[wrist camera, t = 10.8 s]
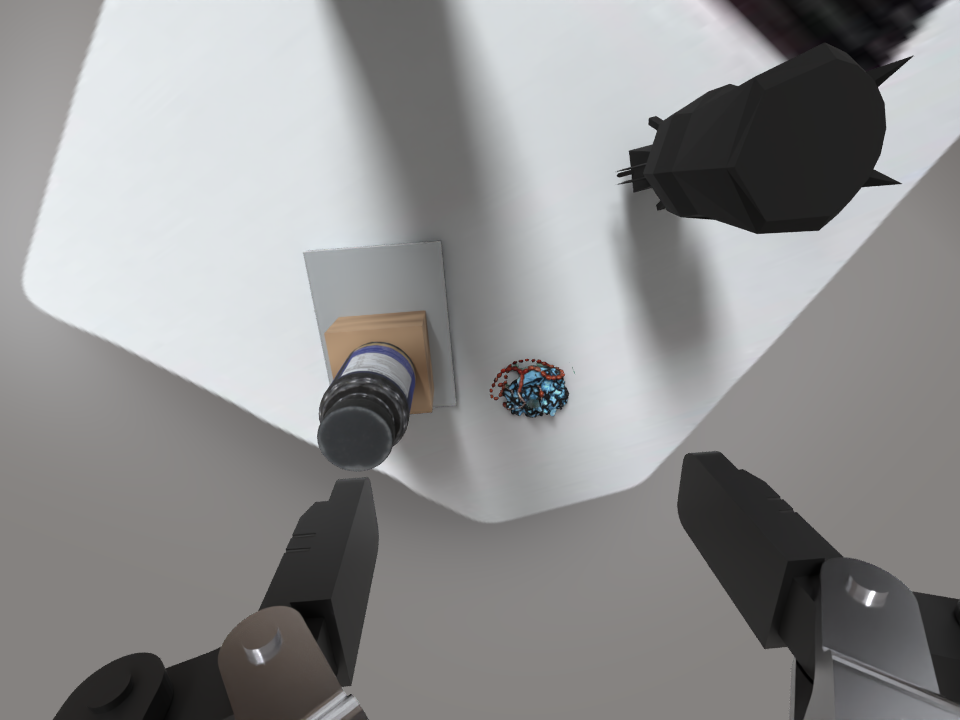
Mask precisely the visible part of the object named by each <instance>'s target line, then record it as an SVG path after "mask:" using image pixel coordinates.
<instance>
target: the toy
mask: <svg viewBox="0 0 960 720" xmlns="http://www.w3.org/2000/svg"><path fill="white" fill-rule="evenodd" d="M912 57H913V56H911V57H908V58H905V59H902V60H899V61H896V62H893V63H890V64H888V65H885V66H882V67H879V68H876V69H873V70H870V71H867V72H865V71H864V70H863V69H862V68H861V67H860V66H859V65H858V64H857V63H856V62H855V61H854V60H853V59H852V58H851V57H850V56H849V55H848V54H847V53H846V52H844V51H841V50H839V49H837V48H835V47H833V46H831V45H829V44H827V43H823V44H821V45H819V46H817V47H815V48H813V49H811V50H809V51H807V52H805V53H803V54H801V55H798V56H796V57H794V58H792V59H790V60H788V61H786V62H784V63H782V64H780V65H778V66H776V67H774V68H772V69H770V70H768V71H766V72H764V73H762V74H760V75H758V76H755V77H754V78H752V79H750V80H748V81H747V82H745V83H743V84H741V85H740V86H735V85H732V84H728V85H725V86H723V87H720V88H717V89H714V90H711V91H709V92H707V93H706V94H704V95H702V96H701V97H699V98H698V99H696V100H695V101H693V102H692V103H690V104H688V105H687V106H685V107H684V108H682V109H681V110H679V111H678V112H676V113H674V114H673V115H671V116H670V117H668V118H667V119H665V120H664V121H663V120H662V119H660V118H658V117H657V116H655V117H651V118H649V125H650V126H651V127H653V128H654V129H656V130H657V133H656V136H655V139H654V142H653V145H649V146H645V147H641V148H637V149H634V150H630V151H629V155H630V164H631V167H629V168H626V169H622V170H620V171H624V170H629V169H631V170H629V171H625V172H621V173H618V175H617V177H623V176H627V175H631V174H632V180H629V181H625V182H624V183H619V184H625V183H631V182H633V191H634V192H637V191H641V190H645V189H649V188H653V190H654V191H655V193H656V194H657V196H658V197H659V199H660V200H661V201H660V202H659V203H658V204H657V205H656V206H657V210H662V209H665V208H666V210H667V211H669V212H671V213H673V214H675V215H677V216H680V217H686V218H698V219H711V220H717V221H720V222H723V223H726V224H729V225H732V226H735V227H738V228H741V229H744V230H747V231H750V232H753V233H756V234H765V233H783V232H802V231H819V230H820V229H821V228H823V227H824V226H825V225H826V224H827V223H828V222H829V221H831V220H832V219H833V218H834V217H835V216H836V215H837V214H839V213H840V212H841V210H842V209H843V208H844V207H845V206H846V205H847V204H848V203H849V202H850V201H851V200H852V198H853V197H854V196H855V195H856V193H857V192H858V191H859V190H860V189H861V187H870V186H883V185H895V184H902V183H900V182H898V181H896V180H894V179H892V178H890V177H888V176H886V175H884V174H882V173H880V172H878V171H876V170H874V167H875V165H876V163H877V160H878V158H879V156H880V154H881V150H882V145H883V141H884V136H885V131H886V118H885V104H884V101H883V98H882V96H881V94H880V92H879V89H878V86H880V85H881V84H882V83H883V82H884V81H885V80H887V79H888V78H889V77H890V76H891V75H892V74H893V73H895V72H896V71H897V70H898V69H899V68H900V67H901V66H903V65H904V64H905V63H906V62H907V61H908V60H910V59H911V58H912ZM617 172H619V171H617ZM619 184H617V185H619Z"/></svg>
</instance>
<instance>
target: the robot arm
mask: <svg viewBox="0 0 960 720" xmlns="http://www.w3.org/2000/svg"><path fill="white" fill-rule="evenodd" d="M677 507H678V514H679V518H680V521H681V524H682V526H683V528H684V529H685V531H686V532H687V534H688V535H689V537H690V538H691V540H692V541H693V543H694V544H695V546H696V547H697V549H698V550H699V552H700V553H701V555H702V556H703V558H704V559H705V561H706V562H707V564H708V565H709V567H710V568H711V570H712V571H713V573H714V574H715V576H716V577H717V579H718V580H719V582H720V583H721V585H722V586H723V588H724V589H725V591H726V592H727V594H728V595H729V597H730V598H731V600H732V601H733V603H734V604H735V606H736V607H737V608H738V610H739V612H740V613H741V614H742V616H743V617H744V619H745V621H746V622H747V623H748V625H749V627H750V628H751V630H752V631H753V632H754V634H755V635H756V637H757V638H758V640H759V641H760V643H761V644H762V646H763V647H764V649H769V648H780V647H788V648H789V650H790V651H791V652H792V654H793V655H794V659H793V662H792V667H791V685H790V709H789V720H960V599H954V598H948V597H942V596H936V595H930V594H924V593H918V592H912V591H911V590H910V589H909V588H908V587H907V586H906V585H905V584H903V582H902V581H900V580H899V579H898V578H896V577H895V576H893V575H892V574H890V573H889V572H887V571H885V570H883V569H882V568H879V567H877V566H875V565H873V564H870V563H867V562H865V561H862V560H858V559H853V558H845V557H843V556H842V555H841V554H840V553H839V552H838V551H837V550H835V549H834V548H833V547H832V546H831V545H830V544H829V543H828V542H827V541H826V540H825V539H824V538H823V537H822V536H821V535H820V534H819V533H818V532H817V531H816V530H815V529H814V528H812V527H811V526H810V525H809V524H808V523H807V522H806V521H805V520H804V519H803V518H802V517H801V516H800V515H799V514H798V513H797V512H794V511H793V508H792V507H791V506H790V505H788V503H786V502H785V501H784V500H783V499H782V500H781V499H780V496H779V495H778V494H777V493H776V492H775V491H774V490H773V489H772V488H771V487H770V486H769V485H768V484H767V483H766V482H764V481H763V480H761V479H759V478H757V477H756V476H754V475H752V474H750V473H749V472H747V471H745V470H743V469H742V470H738V469H737V468H736V467H735V466H734V465H733V464H732V463H731V462H730V461H729V460H728V459H727V458H726V457H725V456H724V455H723V454H722V453H721V452H718V451H712V452H700V453H688V454H686V455H685V457H684V459H683V465H682V472H681V480H680V487H679V494H678V502H677ZM378 534H379V533H378V524H377V517H376V512H375V506H374V500H373V494H372V488H371V482H370V479H369V478H368V477H364V478H351V479H338V480H337V481H336V483H335V486H334V489H333V491H332V493H331V496H330V499H329V501H323V502H315V503H314V504H313V505H312V506H311V507H310V508H309V509H308V510H307V511H306V513H304V514H303V515H302V516H301V517H300V519H299V521H298V524H297V526H296V528H295V530H294V533H293V537H292V538H291V539H290V542H289V544H288V546H287V548H286V553H284V555H283V557H282V559H281V562H280V564H279V567H278V568H277V571H276V573H275V575H274V577H273V579H272V582H271V584H270V586H269V588H268V591H267V593H266V595H265V597H264V600H263V602H262V604H261V606H260V609H259V610H258V611H257V612H255V613H253V614H251V615H250V616H248V617H247V618H245V619H244V620H242V621H241V622H240V623H239V624H237V626H235V627H234V628H233V629H232V631H231V632H230V633H229V634H228V635H227V637H226V638H225V640H224V642H223V643H222V646H221V647H219V648H218V649H216V650H214V651H211V652H209V653H206V654H203V655H201V656H198V657H196V658H193V659H190V660H187V661H185V662H182V663H179V664H177V665H174V666H171V667H168V668H166V669H165V667H164V665H163V663H162V661H161V659H160V658H159V657H158V656H156V655H154V654H151V653H135V654H131V655H127V656H124V657H122V658H119V659H117V660H114V661H112V662H111V663H109V664H107V665H105V666H103V667H102V668H101V669H99V670H98V671H96V672H94V673H93V674H92V675H91V676H90V677H88V678H87V679H86V680H85V681H83V682H82V683H81V684H80V685H79V686H78V687H77V688H76V689H75V690H74V692H72V694H71V695H70V696H69V697H68V699H67V700H66V701H65V703H64V704H63V706H62V707H61V709H60V710H59V711H58V713H57V714H56V716H55V717H54V719H53V720H369V719H368V718H367V716H366V714H365V712H364V711H363V709H362V707H361V706H360V704H359V702H358V701H357V699H356V698H355V697H354V696H353V695H352V694H350V695H349V696H347V695H346V694H345V692H344V690H343V689H342V687H344V686H351V684H352V679H353V674H354V668H355V664H356V659H357V654H358V649H359V644H360V639H361V634H362V628H363V624H364V618H365V614H366V609H367V603H368V598H369V593H370V588H371V583H372V578H373V572H374V568H375V563H376V558H377V552H378V541H379V535H378Z"/></svg>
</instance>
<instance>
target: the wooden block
mask: <svg viewBox="0 0 960 720" xmlns="http://www.w3.org/2000/svg"><path fill="white" fill-rule="evenodd" d="M324 336H325V341H326V346H327V351H328V356H329V361H330V366H331V371H332V376H333V380H334V378H335V376H336V375H337V373H338V371H339V370H340V368H341V367H342V365H343V364H344V362H345V360H346V359H347V357H348V356H349V355H350V353H351V352H353V351H354V350H355V349H357V348H358V347H360V346H361V345H363V344H366V343H369V342H386V343H390V344H393V345H395V346H397V347H399V348H400V349H402V350H403V351H404V352H405V353H406V354H407V355H408V356H409V357H410V359H411V360H412V362H413V365H414V367H415V375H416V381H415V388H414V394H413V399H412V404H411V410H410V414H419V413H430V412H432V408H433V397H434V382H433V373H432V364H431V355H430V347H429V338H428V329H427V320H426V311H425V310H423V311H411V312H398V313H385V314H373V315H360V316H347V317H338V318H337V319H336V321H335V322H334V323H333V324H332V325H331V326H330V327H329V328H328V330H327V331H326V332H325V333H324Z"/></svg>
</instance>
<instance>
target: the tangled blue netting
mask: <svg viewBox="0 0 960 720" xmlns="http://www.w3.org/2000/svg"><path fill="white" fill-rule="evenodd" d="M525 361H529V359H525ZM531 361H532V362H534V361H535V359H532V360H531ZM519 362H520V363H522V362H523V360H519ZM536 362H537V366H533V365H531V366H528V367H525V368H518V367H519V366H518V365H517V361H514V362H513V364H515V365H514V366H512V364H510V365H509V366H508V367H507V368H506V369H505V368H504V369H502V370H501V373H499V374H497V378H495V379H494V382H497V381H498V378H500V377H501V376H502V373H504V372H506V373H509V371H511V370H514V371H517V372H518V373H519V374H520V375H519V378H518V379H516V380H515V381H513V382H512V383H511V385H508V384H507V380H506V381H504V383H499V384H498V386H499V387H502V390H500V391H501V392H500V393H499V397H502V396H505V397H506V399H507V402H504V403H503V406H504V407H505V408H507V410H511V413H512V414H516V415H518V416H520V415H521V414H522V413H523V412H524V413H525V415H526V416H527V417H532V418H533V417H536V416H537V415H540V416H543V412H544V413H546V415H548V414H550V415H551V416H554V415H555V412H556V409H562V407H563V406H564V405H565V403H567V399H568V396H569V392H568V390H567V388H566V387H565V386H564V384H565V382H564V379H563V377H564V376H565V374H563V373H564V371H563V370H560V369H559V367H554V366H553V365H549V364H548V363H546V362H542V361H541V360H537V361H536ZM572 368H573V367H572ZM573 370H574V369H573ZM574 373H575V372H574ZM504 378H505V379H507V378H508V376H507V375H505V376H504ZM492 387H495V383H493V384H492ZM490 392H493V390H492V389H490ZM490 396H491V398H493V395H490ZM498 399H499V398H498V397H494V400H498Z"/></svg>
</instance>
